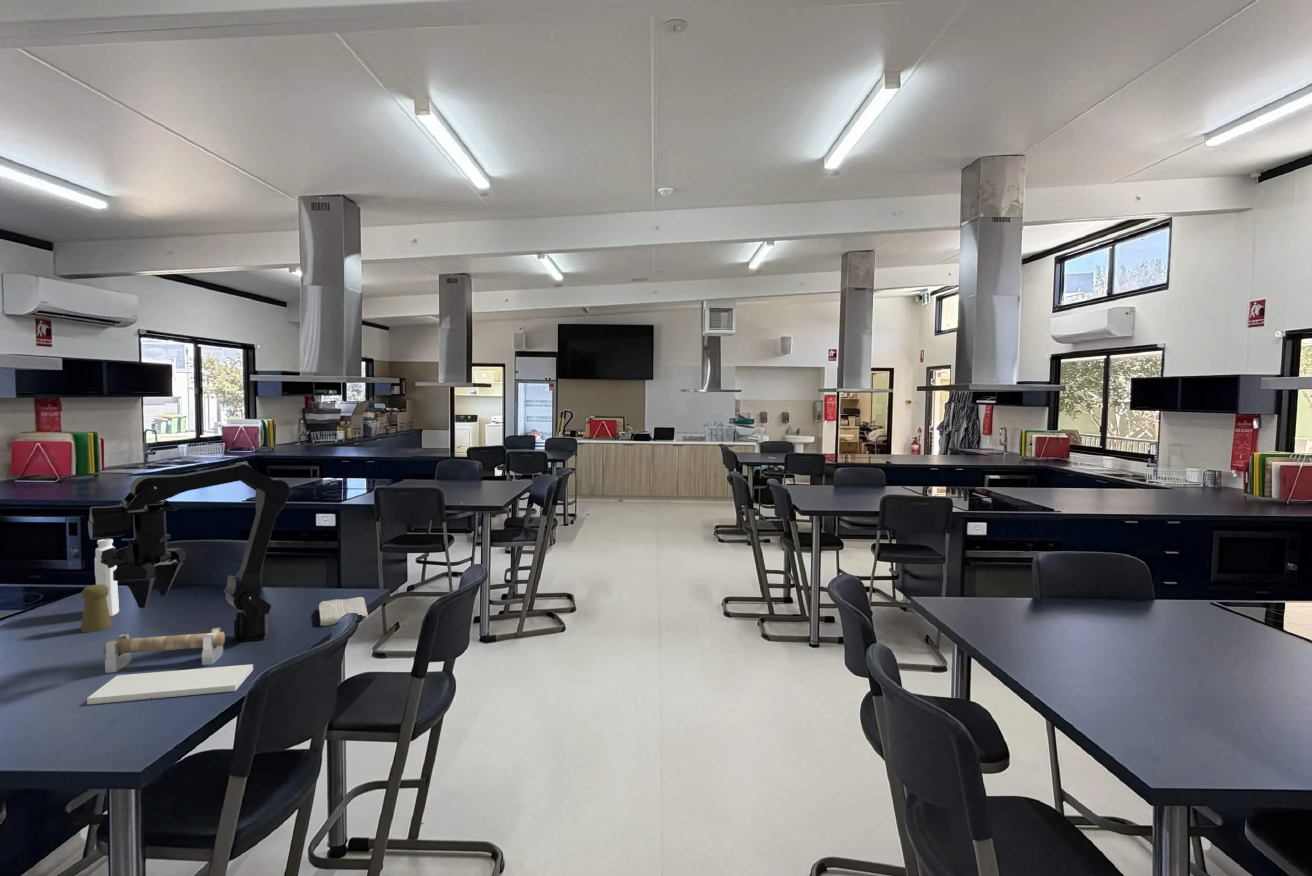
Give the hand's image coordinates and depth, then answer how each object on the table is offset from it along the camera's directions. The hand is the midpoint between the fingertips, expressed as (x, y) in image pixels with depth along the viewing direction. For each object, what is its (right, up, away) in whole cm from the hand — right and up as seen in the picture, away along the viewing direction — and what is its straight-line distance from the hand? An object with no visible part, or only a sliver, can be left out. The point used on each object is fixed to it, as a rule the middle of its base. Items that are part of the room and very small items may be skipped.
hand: (153, 601), depth 148 cm
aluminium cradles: (+4, -13, -2) cm, 14 cm away
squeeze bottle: (-37, -11, +32) cm, 51 cm away
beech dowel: (+4, -9, -2) cm, 10 cm away
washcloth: (+27, -13, +34) cm, 45 cm away
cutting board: (+15, -14, -13) cm, 24 cm away
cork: (-30, -12, +20) cm, 38 cm away
